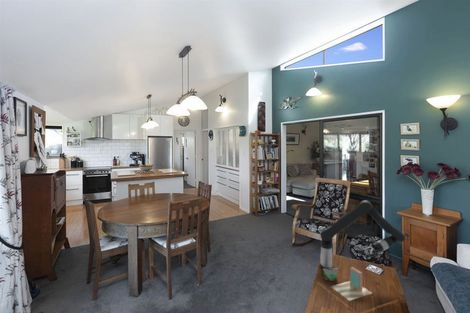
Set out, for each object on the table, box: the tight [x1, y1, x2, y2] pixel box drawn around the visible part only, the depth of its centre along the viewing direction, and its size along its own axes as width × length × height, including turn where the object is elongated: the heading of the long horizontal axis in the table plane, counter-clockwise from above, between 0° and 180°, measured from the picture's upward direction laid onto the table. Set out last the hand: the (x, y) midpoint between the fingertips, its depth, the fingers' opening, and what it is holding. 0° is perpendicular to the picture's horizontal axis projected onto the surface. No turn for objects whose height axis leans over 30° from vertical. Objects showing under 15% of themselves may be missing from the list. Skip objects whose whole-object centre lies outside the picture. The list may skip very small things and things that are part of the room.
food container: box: [322, 265, 339, 282], centre depth 193 cm, size 12×6×10 cm, turn 101°
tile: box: [349, 266, 364, 292], centre depth 181 cm, size 9×3×14 cm, turn 21°
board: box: [330, 280, 373, 302], centre depth 180 cm, size 18×22×1 cm
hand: (362, 254), depth 185 cm, fingers open, 8 cm apart
